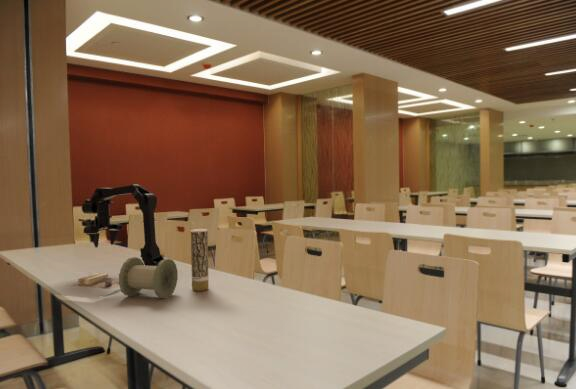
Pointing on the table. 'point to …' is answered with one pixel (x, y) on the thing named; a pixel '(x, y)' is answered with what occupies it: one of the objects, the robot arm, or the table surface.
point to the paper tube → (199, 259)
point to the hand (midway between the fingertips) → (104, 246)
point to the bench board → (103, 283)
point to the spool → (148, 277)
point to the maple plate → (92, 279)
